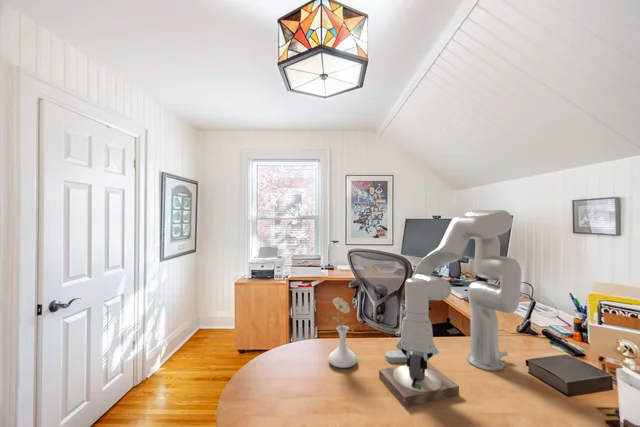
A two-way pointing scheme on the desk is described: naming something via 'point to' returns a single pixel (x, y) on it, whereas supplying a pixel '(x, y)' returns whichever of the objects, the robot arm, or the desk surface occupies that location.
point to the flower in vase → (342, 340)
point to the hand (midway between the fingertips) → (416, 369)
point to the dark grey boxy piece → (416, 367)
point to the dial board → (418, 385)
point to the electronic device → (396, 356)
